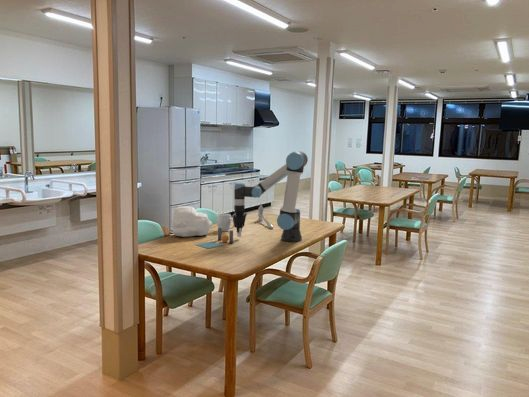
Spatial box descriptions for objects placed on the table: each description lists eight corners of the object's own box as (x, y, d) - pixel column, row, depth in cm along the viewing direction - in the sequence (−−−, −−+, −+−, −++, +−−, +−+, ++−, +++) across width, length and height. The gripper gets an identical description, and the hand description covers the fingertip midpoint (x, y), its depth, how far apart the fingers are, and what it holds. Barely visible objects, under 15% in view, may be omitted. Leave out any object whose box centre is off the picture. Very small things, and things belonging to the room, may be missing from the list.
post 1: (220, 239, 317) (220, 227, 316) (222, 240, 315) (222, 228, 314) (217, 240, 315) (217, 228, 314) (219, 241, 313) (219, 228, 312)
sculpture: (172, 239, 316) (213, 238, 322) (172, 209, 313) (214, 209, 319) (171, 231, 341) (210, 231, 347) (171, 204, 338) (210, 204, 344)
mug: (237, 230, 349) (237, 214, 348) (231, 233, 339) (231, 216, 338) (221, 228, 355) (221, 212, 353) (214, 231, 345) (214, 215, 343)
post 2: (231, 242, 308) (231, 230, 307) (233, 243, 306) (233, 230, 305) (228, 243, 306) (228, 230, 305) (231, 244, 304) (231, 231, 303)
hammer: (275, 236, 359) (262, 219, 395) (276, 217, 354) (263, 202, 391) (270, 236, 357) (256, 220, 394) (271, 217, 353) (257, 202, 389)
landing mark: (211, 241, 310) (211, 241, 310) (224, 245, 301) (224, 245, 301) (195, 244, 301) (195, 244, 301) (207, 248, 291) (207, 248, 291)
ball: (222, 242, 313) (226, 236, 315) (228, 244, 309) (231, 237, 311) (218, 238, 310) (222, 232, 311) (223, 240, 306) (227, 233, 308)
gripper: (242, 203, 323) (242, 234, 327) (229, 204, 314) (229, 237, 317) (249, 204, 318) (249, 236, 321) (236, 206, 309) (235, 238, 312)
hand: (239, 236), depth 319 cm, fingers closed
